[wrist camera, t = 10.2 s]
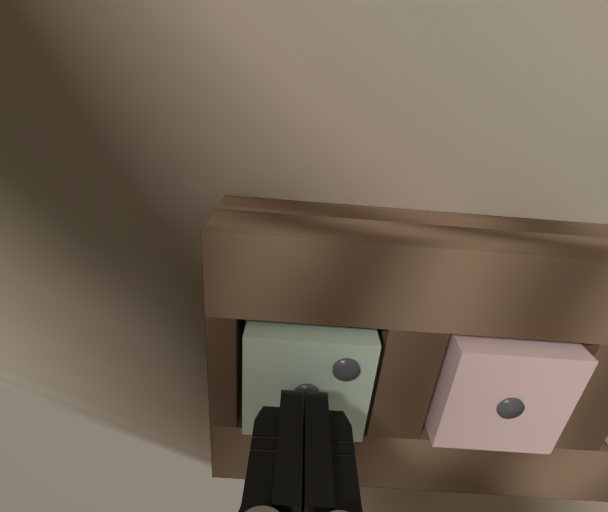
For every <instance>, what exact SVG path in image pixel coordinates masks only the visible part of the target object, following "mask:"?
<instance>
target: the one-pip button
mask: <svg viewBox="0 0 608 512" xmlns="http://www.w3.org/2000/svg"><path fill="white" fill-rule="evenodd" d="M598 363H599V362H598V361H597V360H596V359H595V358H594V357H593V356H592V355H591V354H590V353H589V352H588V351H587V350H586V349H585V348H584V347H583V346H582V345H581V344H580V343H572V342H558V341H544V340H529V339H515V338H501V337H487V336H473V335H458V334H450V336H449V339H448V343H447V346H446V350H445V353H444V356H443V360H442V363H441V366H440V370H439V373H438V377H437V380H436V383H435V387H434V390H433V394H432V397H431V400H430V404H429V407H428V410H427V414H426V417H425V421H424V423H425V426H426V429H427V432H428V435H429V438H430V441H431V444H432V447H443V448H458V449H474V450H489V451H505V452H520V453H535V454H551V452H552V450H553V448H554V446H555V444H556V442H557V441H558V439H559V437H560V435H561V433H562V431H563V429H564V427H565V425H566V423H567V422H568V420H569V418H570V416H571V414H572V412H573V410H574V408H575V406H576V404H577V402H578V401H579V399H580V397H581V395H582V393H583V391H584V389H585V387H586V385H587V383H588V382H589V380H590V378H591V376H592V374H593V372H594V370H595V368H596V366H597V364H598Z"/></svg>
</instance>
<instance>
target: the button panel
mask: <svg viewBox="0 0 608 512" xmlns="http://www.w3.org/2000/svg"><path fill="white" fill-rule="evenodd" d="M201 245H202V266H203V287H204V309H205V330H206V351H207V373H208V394H209V415H210V437H211V458H212V477H221V478H236V479H245V478H246V471H247V465H248V459H249V452H250V446H251V439H252V435H245V434H242V337H243V333H244V329H245V325H246V321H247V320H259V321H274V322H288V323H302V324H316V325H330V326H345V327H359V328H373V329H377V332H378V336H379V339H380V343H381V351H380V356H379V361H378V366H377V371H376V376H375V381H374V386H373V390H372V395H371V400H370V405H369V410H368V415H367V420H366V425H365V430H364V435H363V440H362V442H353V444H354V449H355V458H356V465H357V473H358V481H359V486H363V487H379V488H395V489H411V490H427V491H443V492H459V493H475V494H491V495H507V496H522V497H538V498H554V499H570V500H586V501H602V502H608V444H607V443H606V442H605V439H606V438H607V436H608V225H607V224H594V223H581V222H567V221H554V220H541V219H528V218H515V217H502V216H489V215H475V214H462V213H449V212H436V211H423V210H410V209H397V208H383V207H370V206H357V205H344V204H331V203H318V202H304V201H291V200H278V199H265V198H252V197H239V196H226V195H225V197H224V198H223V200H222V201H221V202H220V204H219V205H218V207H217V208H216V210H215V211H214V212H213V214H212V215H211V217H210V218H209V220H208V221H207V222H206V224H205V225H204V227H203V228H202V230H201ZM450 334H458V335H473V336H487V337H501V338H515V339H529V340H544V341H558V342H572V343H580V344H581V345H582V346H583V347H584V348H585V349H586V350H587V351H588V352H589V353H590V354H591V355H592V356H593V357H594V358H595V359H596V360H597V361H598V362H599V363H598V364H597V366H596V368H595V370H594V372H593V374H592V376H591V378H590V380H589V382H588V383H587V385H586V387H585V389H584V391H583V393H582V395H581V397H580V399H579V401H578V402H577V404H576V406H575V408H574V410H573V412H572V414H571V416H570V418H569V420H568V422H567V423H566V425H565V427H564V429H563V431H562V433H561V435H560V437H559V439H558V441H557V442H556V444H555V446H554V448H553V450H552V452H551V454H535V453H520V452H505V451H489V450H474V449H458V448H443V447H432V444H431V441H430V438H429V435H428V432H427V429H426V426H425V423H424V421H425V417H426V414H427V410H428V407H429V404H430V400H431V397H432V394H433V390H434V387H435V383H436V380H437V377H438V373H439V370H440V366H441V363H442V360H443V356H444V353H445V350H446V346H447V343H448V339H449V336H450Z"/></svg>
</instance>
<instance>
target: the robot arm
mask: <svg viewBox="0 0 608 512" xmlns="http://www.w3.org/2000/svg"><path fill="white" fill-rule="evenodd" d="M353 442H354V441H353V432H352V425H351V423H350V422H349V420H348V418H347V416H346V415H345V413H344V411H335V410H329V403H328V393H327V392H313V391H305V395H304V404H303V391H296V390H281V398H280V407H271V406H263V407H262V409H261V410H260V412H259V413H258V415H257V416H256V418H255V420H254V426H253V433H252V439H251V446H250V452H249V459H248V465H247V471H246V478H245V485H244V491H243V497H242V503H241V507H240V509H239V512H362V506H361V498H360V489H359V481H358V473H357V465H356V458H355V449H354V444H353Z"/></svg>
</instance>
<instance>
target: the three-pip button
mask: <svg viewBox="0 0 608 512" xmlns="http://www.w3.org/2000/svg"><path fill="white" fill-rule="evenodd" d="M380 351H381V343H380V339H379V336H378V332H377V329H373V328H359V327H345V326H330V325H316V324H302V323H288V322H274V321H259V320H247V321H246V325H245V329H244V333H243V337H242V434H245V435H252V433H253V426H254V420H255V418H256V416H257V415H258V413H259V412H260V410H261V409H262V407H263V406H271V407H280V398H281V390H296V391H303V404H304V395H305V391H313V392H327V393H328V403H329V410H335V411H344V413H345V415H346V416H347V418H348V420H349V422H350V423H351V425H352V432H353V441H354V442H362V440H363V435H364V430H365V425H366V420H367V415H368V410H369V405H370V400H371V395H372V390H373V386H374V381H375V376H376V371H377V366H378V361H379V356H380Z"/></svg>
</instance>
